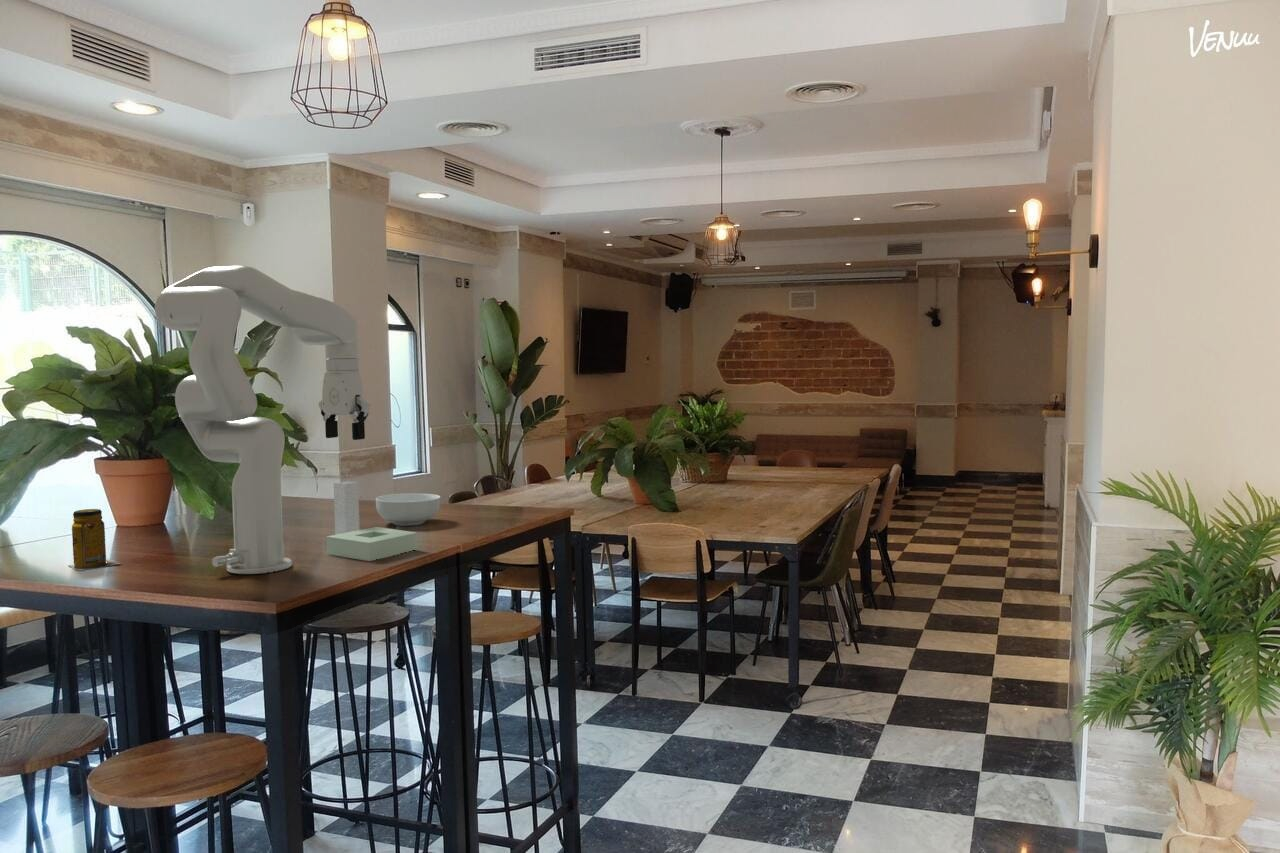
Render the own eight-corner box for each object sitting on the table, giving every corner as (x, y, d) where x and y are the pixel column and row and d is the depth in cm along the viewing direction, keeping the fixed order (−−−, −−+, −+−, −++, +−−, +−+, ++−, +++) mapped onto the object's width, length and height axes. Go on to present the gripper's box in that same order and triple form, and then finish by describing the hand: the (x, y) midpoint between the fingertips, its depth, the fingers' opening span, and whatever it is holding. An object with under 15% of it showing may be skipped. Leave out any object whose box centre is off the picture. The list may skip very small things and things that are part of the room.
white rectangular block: (346, 542, 227) (344, 484, 226) (335, 541, 230) (333, 483, 229) (359, 540, 231) (358, 482, 230) (348, 538, 233) (347, 481, 232)
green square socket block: (369, 561, 207) (368, 542, 206) (327, 554, 214) (326, 536, 214) (417, 550, 218) (417, 532, 218) (376, 543, 226) (375, 526, 226)
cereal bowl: (425, 529, 244) (424, 502, 244) (364, 528, 248) (364, 500, 247) (451, 518, 261) (450, 492, 260) (394, 517, 264) (393, 491, 264)
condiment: (68, 566, 205) (65, 510, 204) (112, 560, 210) (109, 505, 209) (77, 571, 199) (74, 514, 198) (121, 565, 205) (119, 509, 204)
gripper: (306, 366, 229) (308, 438, 230) (353, 367, 219) (356, 441, 220) (332, 366, 235) (334, 435, 236) (379, 366, 225) (382, 438, 227)
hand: (345, 438), depth 228 cm, fingers open, 9 cm apart
